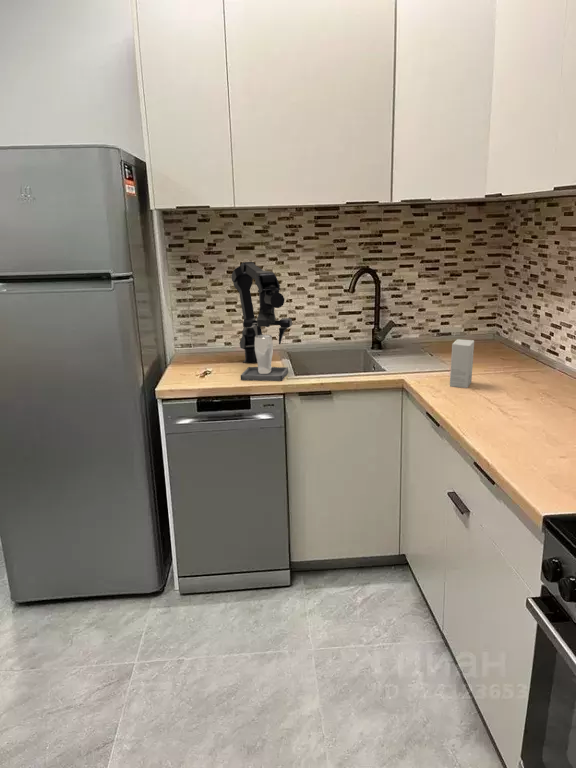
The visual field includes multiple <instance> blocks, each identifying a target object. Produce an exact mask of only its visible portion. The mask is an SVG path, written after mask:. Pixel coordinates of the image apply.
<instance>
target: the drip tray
mask: <svg viewBox="0 0 576 768" xmlns="http://www.w3.org/2000/svg"><path fill="white" fill-rule="evenodd" d="M271 367H272V372H273V374H272V375H257V370H258V366H248V367H247V368H246V369H245V370H244V371H243V372H242V373H241V374H240V381H252V382H253V381H255V382H256V381H257V382H258V381H261V382H283V381H284V380H285V378H286V376H287V375H288V374H289V366H288V367H283V366H281V367H279V366H278V367H276V366H271Z"/></svg>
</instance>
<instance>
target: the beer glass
mask: <svg viewBox="0 0 576 768" xmlns="http://www.w3.org/2000/svg"><path fill="white" fill-rule="evenodd" d="M273 350H274V345H273V336H272V334H263V335H257V336H255V354H256V358H257V363H256V364H257V367H258V370H257V375H272V374H273V372H272V367H273V366H272V360H273V353H274V352H273Z"/></svg>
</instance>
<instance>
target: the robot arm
mask: <svg viewBox="0 0 576 768" xmlns="http://www.w3.org/2000/svg"><path fill="white" fill-rule="evenodd" d="M253 280H255V281H253ZM231 281H232V283H233V287H234V288H235V289H236V290H237V292H238V293H239V294H238V295H239V300H240V305H241V312H242V318H243V321H242V326H243V327H242V332H241V339H240V341H239V348H241V349H242V350H244V360H243V361H242V363H243V364H258V363H257V358H256V354H255V336H257V335H264V334H263V332H262V327H265V328H270V326H279V328H278V331H279V333H278V344H279V345H281V344H282V340H283V338H284V334H285V331H286V330H288V329H289V328H291V327H292V326H293V319H292V318H290V317H282V318H280V319H276V315H275V310H276V309H279V308H281V307H283V306H284V303H285V297H284V295H283V293H280V291H281V288H280V287H281V285H280V282H279V281H278V278H277V276H276V274H275V273H274V272H273V271H269V270H263V269H262V268H260V267H259V266H258V265H256V264H255V262H253V261H243V262H241V263H240V265H239V266H237V267H235V268H234V270H233V271H232V273H231ZM253 282H254V284H255V285H256V288H258V289H257V293H258V300H259V310H258V311H259V312H258V315H257V317H255V311H254V306H253V301H252V300H253V299H252V294H251V289H252V285H253Z"/></svg>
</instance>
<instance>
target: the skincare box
mask: <svg viewBox="0 0 576 768" xmlns="http://www.w3.org/2000/svg"><path fill="white" fill-rule="evenodd" d="M474 349H475V340H473V339H459V338H457V339H456V340H454V342H453V343H451V359H450V372H449V373H450V374H449V375H450V377H449V387H450V388H451V387H452V388H461V389H462V388H463V389H468V388H469V387H470V385H471V384H472V382H473V381H472V380H473V367H474V366H473V364H474V351H475V350H474Z"/></svg>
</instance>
